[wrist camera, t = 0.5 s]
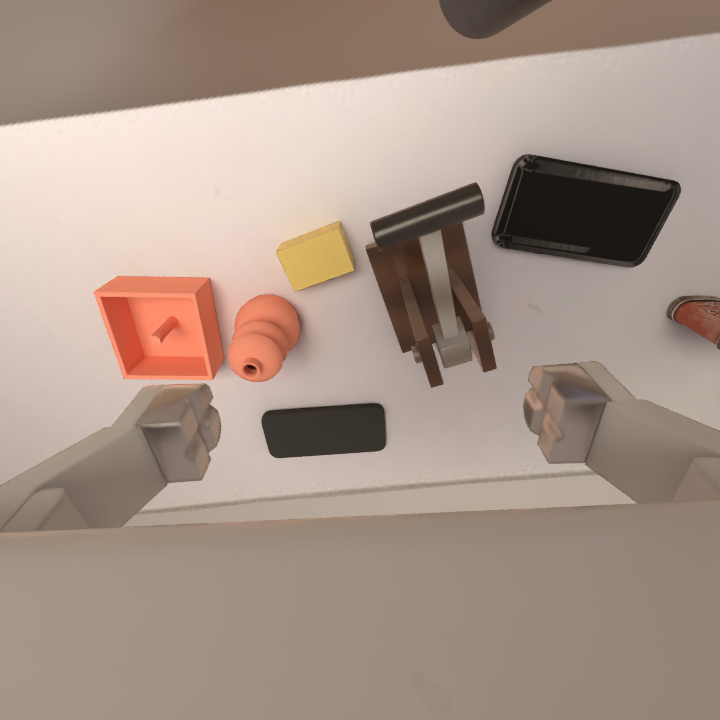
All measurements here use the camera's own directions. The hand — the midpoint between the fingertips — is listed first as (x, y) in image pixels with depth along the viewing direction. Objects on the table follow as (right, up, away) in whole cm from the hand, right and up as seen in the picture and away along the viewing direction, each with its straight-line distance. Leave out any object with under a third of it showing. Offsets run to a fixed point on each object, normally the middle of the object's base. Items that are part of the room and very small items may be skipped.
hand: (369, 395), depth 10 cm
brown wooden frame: (+7, +8, +30) cm, 32 cm away
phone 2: (+20, +15, +26) cm, 36 cm away
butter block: (-4, +11, +28) cm, 30 cm away
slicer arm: (+5, +6, +16) cm, 17 cm away
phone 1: (-5, -8, +40) cm, 41 cm away
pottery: (-15, +5, +32) cm, 36 cm away
